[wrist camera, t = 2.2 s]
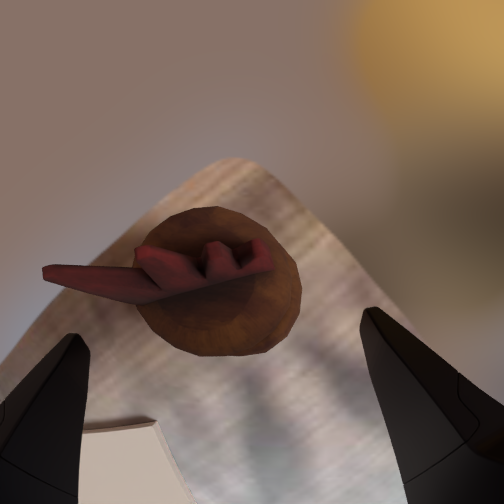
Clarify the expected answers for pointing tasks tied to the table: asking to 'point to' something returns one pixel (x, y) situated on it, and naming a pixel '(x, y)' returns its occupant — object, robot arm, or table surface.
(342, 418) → the table surface
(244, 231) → the wooden figurine
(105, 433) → the display tile
